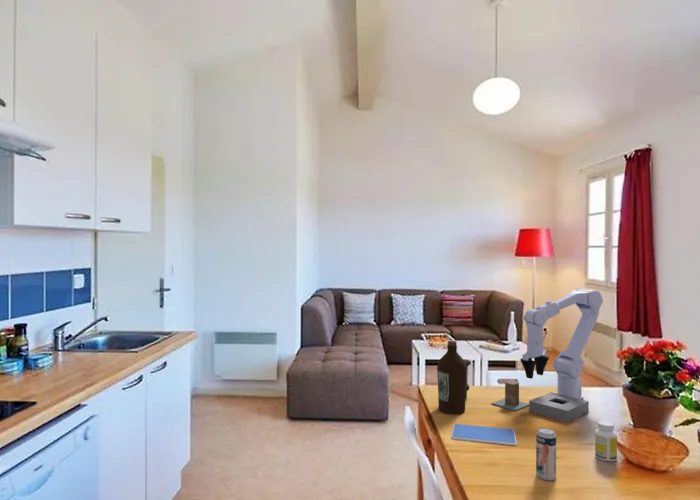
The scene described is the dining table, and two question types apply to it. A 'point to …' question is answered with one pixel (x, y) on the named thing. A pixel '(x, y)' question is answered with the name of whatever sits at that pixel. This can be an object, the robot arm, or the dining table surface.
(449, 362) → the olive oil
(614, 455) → the supplement bottle
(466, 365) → the bolt
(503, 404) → the mat
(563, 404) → the grey flat block
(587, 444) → the dining table surface
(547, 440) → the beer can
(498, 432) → the tablet computer
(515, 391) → the tall wooden block
